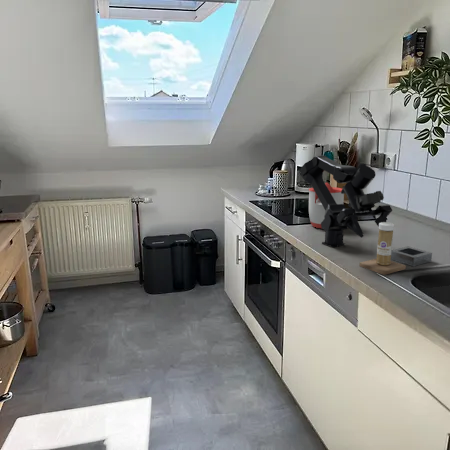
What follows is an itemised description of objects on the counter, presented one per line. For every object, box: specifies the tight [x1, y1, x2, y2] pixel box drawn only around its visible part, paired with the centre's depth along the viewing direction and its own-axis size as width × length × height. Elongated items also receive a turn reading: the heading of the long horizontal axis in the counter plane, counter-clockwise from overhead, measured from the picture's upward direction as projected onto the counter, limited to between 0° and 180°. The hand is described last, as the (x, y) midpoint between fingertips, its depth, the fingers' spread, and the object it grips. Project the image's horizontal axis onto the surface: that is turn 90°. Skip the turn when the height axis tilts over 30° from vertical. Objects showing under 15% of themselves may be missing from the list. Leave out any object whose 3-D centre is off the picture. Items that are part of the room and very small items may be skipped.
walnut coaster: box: [358, 257, 407, 276], centre depth 138 cm, size 10×10×1 cm
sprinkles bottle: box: [376, 221, 395, 265], centre depth 137 cm, size 5×5×14 cm
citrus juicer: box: [308, 182, 345, 229], centre depth 190 cm, size 16×17×20 cm
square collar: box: [391, 245, 433, 267], centre depth 145 cm, size 9×9×3 cm
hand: (374, 235), depth 141 cm, fingers open, 9 cm apart
